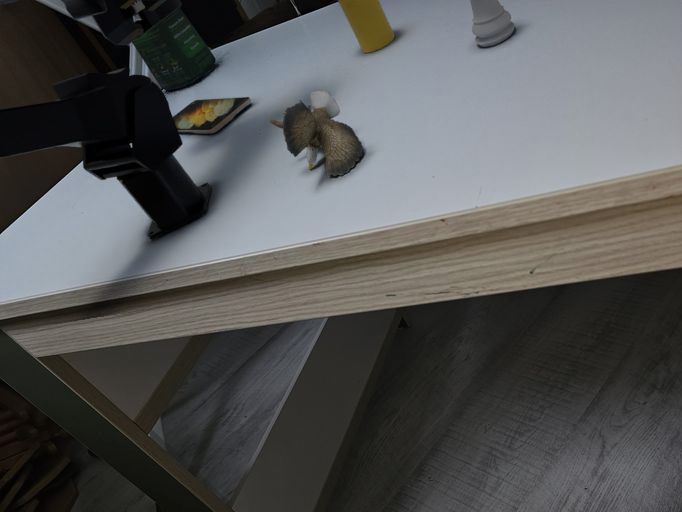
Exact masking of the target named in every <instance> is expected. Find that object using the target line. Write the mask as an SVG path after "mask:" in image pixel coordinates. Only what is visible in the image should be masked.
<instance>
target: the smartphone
mask: <svg viewBox="0 0 682 512" xmlns="http://www.w3.org/2000/svg"><path fill="white" fill-rule="evenodd" d="M251 103H252V100H251V98H250V97H249V96H243V97H226V98H209V99H207V98H205V99H195V100H193V101H192V102H190V103H189V104H187V105H186V106H185V107H184V108H182V109H181V110H180V111H178V112H177V113H176V114H174V116H173V115H172V116H173V119H174V121H175V124H176V127H177V129H178V132H179V133H193V134H214V133H216V132H218V131H219V130H221V129H222V128H223V127H224V126H226V125H227V124H228V123H229V122H231V121H232V120H233V119H234V118H235V116H236V115H237V114H239V113H240V112H242V111H243V109H245V108H246V107H248V105H249V104H251Z"/></svg>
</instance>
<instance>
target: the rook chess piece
mask: <svg viewBox="0 0 682 512" xmlns="http://www.w3.org/2000/svg"><path fill="white" fill-rule="evenodd" d="M469 2H470V6H471V11H472V21H471V22H472V26H471V32H472V35H474V36H475V37H474V43H475V44H477V45H479V46H480V47H482V48H483V47H484V48H486V47H493V46H495V45H498V44H501V43H502V42H504V41H505V40H507V39H508V38H510V37H511V36H512V34H513V33H514V30H515V26H516V24H515V22H513V21H511V20H512V14H511V13H510V12H509V11H508V10H506V9H505V7H504V5H502V4H501V2H499V0H469Z"/></svg>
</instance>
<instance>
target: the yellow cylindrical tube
mask: <svg viewBox="0 0 682 512" xmlns="http://www.w3.org/2000/svg"><path fill="white" fill-rule="evenodd" d="M337 2H338V4H339V5H340V8H341V10H342V12H343V15H344V16H345V18H346V20H347V22H348V24H349V27H350V28H351V31H352V32H353V34H354V36H355V38H356V40H357V42H358V44H359V47H360V48H361V51H362V52H363V53H365V54H369V53H373V52H377V51H378V50H381V49H383V48H384V47H387V45H389V44H390V43H392V41H393V40H394V39H395V37H396V36H395V35H396V34H395V33H394V31H393V28H392V26H391V23H390V22H389V19H388V17H387V15H386V13H385V10H384V9H383V6H382V4H381V2H380V0H337Z"/></svg>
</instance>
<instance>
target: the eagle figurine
mask: <svg viewBox="0 0 682 512" xmlns="http://www.w3.org/2000/svg"><path fill="white" fill-rule="evenodd" d="M309 100H310V103H311V104H307V105H306V104H305V103H304V101H302V100H301V99H300V100H299V102H298V103H295V104H294V105H292V106H290V107H286V109H285V110H284V114H283V120H282V121H278V120H276V119H269V120H268V122H269V123H270V124H271V125H273V126H275V127H277V128H279V129H282V134H283V137H284V141H285V142H284V143H286V149H287V151H289V153H290V154H291V155H292V156H293V157H294V158H296V157H298V156H299V155H300V154H301V153H302V151H304V150H305V149H306V160H307V163H308V169H309V170H312V169H313V166H314V165H315V164H316V163H317V158H318V153H319V150H320V148H321V147H322V150H323V152H324V156H325V166H326V168H325V169H326V175H327V176H329V177H330V176H333V177H337V176H340V177H341V176H345V174H348V173H349V172H350V171H351V169H352V168H354V167H355V166H356V162H359V161H360V157H362V155H363V146H362V141H360V139H359V136H357V135H356V133H355V131H354V130H353V127H351V126H350V125H348V124H346V123H344V122H340V121H338V120H335V119H333V118H335V117H337V116H339V115H340V114H341V109H340V106H339V104H338V103H337V100H336V99H335V97H334V96H332V95H331V93H330V92H326V91H323V90H322V91H321V90H320V91H314V92H311V93H310V94H309ZM312 109H313V110H312Z"/></svg>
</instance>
